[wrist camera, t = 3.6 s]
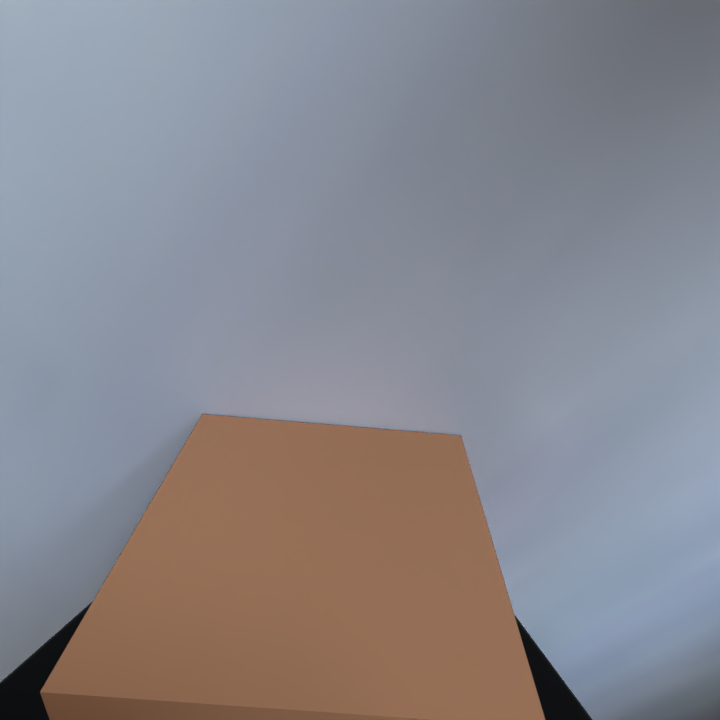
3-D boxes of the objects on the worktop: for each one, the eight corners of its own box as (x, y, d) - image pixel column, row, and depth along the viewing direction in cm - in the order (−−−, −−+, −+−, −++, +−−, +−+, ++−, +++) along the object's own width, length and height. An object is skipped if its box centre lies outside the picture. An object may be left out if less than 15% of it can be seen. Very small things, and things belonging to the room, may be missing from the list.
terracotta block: (461, 435, 9) (547, 727, 5) (423, 607, 11) (458, 918, 7) (202, 413, 9) (39, 691, 5) (214, 591, 11) (112, 897, 7)
